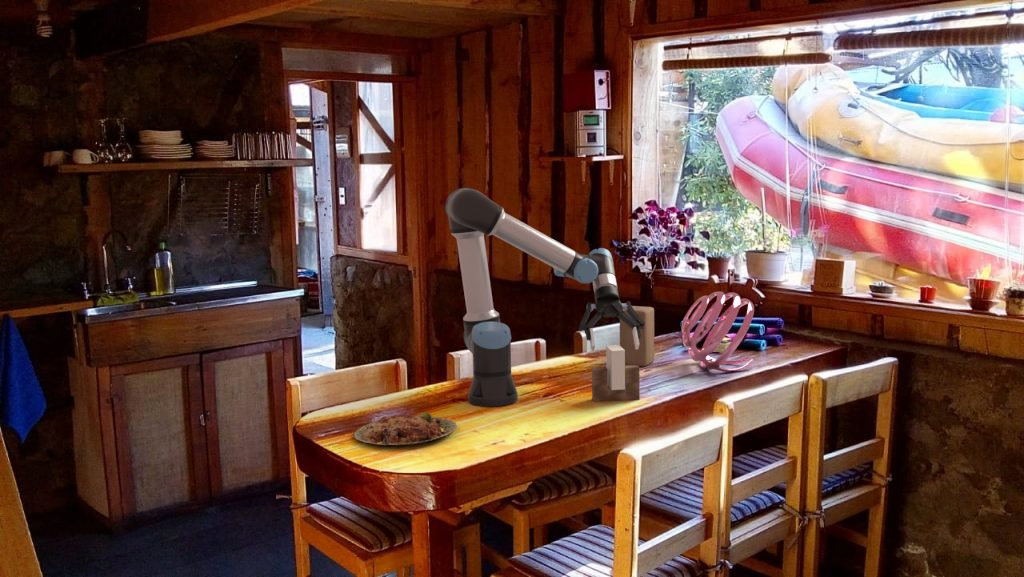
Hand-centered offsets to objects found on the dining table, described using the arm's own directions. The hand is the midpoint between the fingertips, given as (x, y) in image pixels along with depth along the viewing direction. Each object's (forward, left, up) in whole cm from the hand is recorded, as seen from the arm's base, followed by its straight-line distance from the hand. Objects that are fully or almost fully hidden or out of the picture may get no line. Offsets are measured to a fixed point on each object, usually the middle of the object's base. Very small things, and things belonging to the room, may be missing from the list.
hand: (615, 347), depth 266 cm
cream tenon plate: (0, -1, -12) cm, 12 cm away
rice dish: (-63, -24, -16) cm, 70 cm away
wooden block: (+18, +45, -16) cm, 51 cm away
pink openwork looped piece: (+43, +32, -16) cm, 56 cm away
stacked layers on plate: (+53, +57, -16) cm, 79 cm away
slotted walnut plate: (0, -1, -16) cm, 16 cm away
